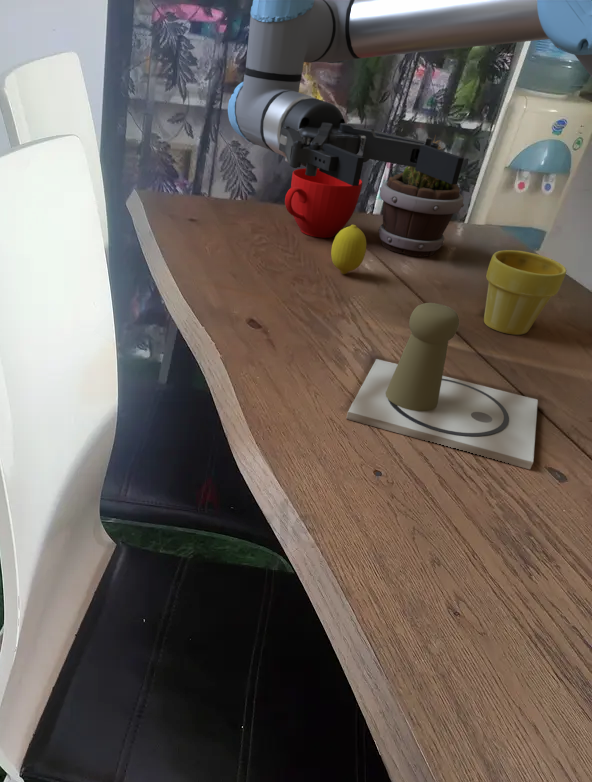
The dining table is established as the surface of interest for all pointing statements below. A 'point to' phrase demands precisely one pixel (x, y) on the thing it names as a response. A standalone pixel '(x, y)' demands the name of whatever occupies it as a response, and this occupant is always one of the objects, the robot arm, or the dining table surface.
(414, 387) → the olive pawn
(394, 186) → the flowerpot
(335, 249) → the lemon
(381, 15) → the robot arm
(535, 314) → the flower pot
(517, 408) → the drawing sheet
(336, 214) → the ceramic cup
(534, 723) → the dining table surface
